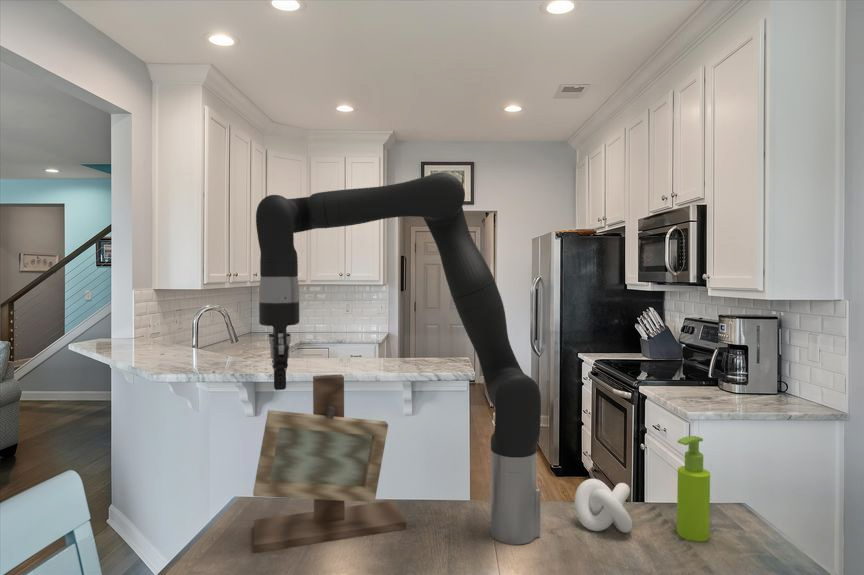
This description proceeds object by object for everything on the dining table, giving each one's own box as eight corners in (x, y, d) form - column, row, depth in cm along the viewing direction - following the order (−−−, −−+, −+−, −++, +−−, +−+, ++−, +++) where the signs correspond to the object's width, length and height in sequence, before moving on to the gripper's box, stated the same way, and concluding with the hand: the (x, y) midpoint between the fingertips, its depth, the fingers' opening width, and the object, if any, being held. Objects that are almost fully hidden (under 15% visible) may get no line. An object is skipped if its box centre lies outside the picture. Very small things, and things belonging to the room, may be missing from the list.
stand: (393, 506, 122) (392, 368, 121) (406, 528, 111) (406, 377, 111) (253, 526, 112) (252, 376, 111) (254, 552, 102) (252, 387, 101)
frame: (372, 497, 113) (387, 411, 113) (374, 501, 110) (390, 414, 111) (253, 491, 105) (269, 399, 105) (253, 496, 102) (270, 402, 103)
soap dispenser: (667, 532, 110) (668, 435, 109) (689, 525, 113) (691, 431, 113) (692, 545, 105) (694, 444, 104) (715, 537, 108) (717, 439, 107)
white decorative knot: (650, 537, 108) (651, 493, 108) (598, 545, 105) (599, 500, 105) (616, 513, 119) (616, 473, 119) (568, 519, 116) (568, 478, 115)
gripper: (302, 301, 99) (302, 394, 100) (296, 298, 112) (296, 381, 112) (259, 302, 97) (260, 397, 97) (258, 298, 109) (259, 383, 110)
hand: (280, 388), depth 105 cm, fingers closed
